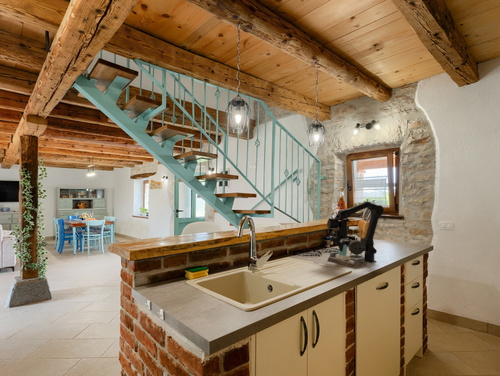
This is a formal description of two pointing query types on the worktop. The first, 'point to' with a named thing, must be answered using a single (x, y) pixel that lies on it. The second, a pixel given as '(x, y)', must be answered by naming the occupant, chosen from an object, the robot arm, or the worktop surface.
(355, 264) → the rail board
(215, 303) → the worktop surface
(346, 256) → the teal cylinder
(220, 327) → the worktop surface
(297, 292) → the worktop surface
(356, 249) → the alarm clock
